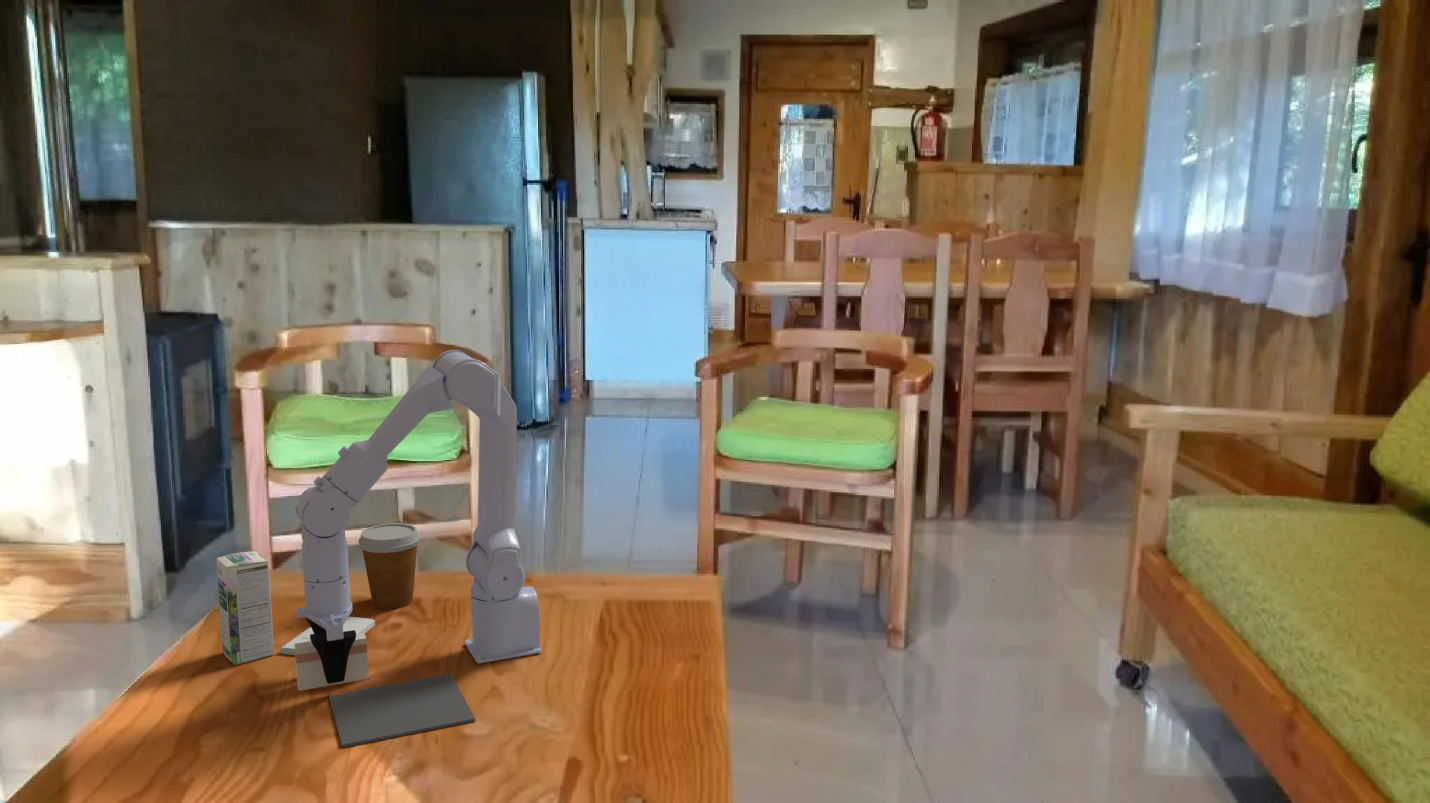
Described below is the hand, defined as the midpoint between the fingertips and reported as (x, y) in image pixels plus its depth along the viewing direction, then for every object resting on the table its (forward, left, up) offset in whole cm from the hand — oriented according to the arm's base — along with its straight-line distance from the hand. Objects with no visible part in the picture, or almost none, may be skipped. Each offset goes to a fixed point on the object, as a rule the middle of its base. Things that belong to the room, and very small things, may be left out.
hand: (332, 670), depth 146 cm
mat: (-7, +12, -2) cm, 14 cm away
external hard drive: (-1, -15, -2) cm, 15 cm away
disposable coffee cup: (-12, -26, -2) cm, 29 cm away
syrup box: (+10, -14, -2) cm, 17 cm away
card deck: (0, 0, -2) cm, 2 cm away
